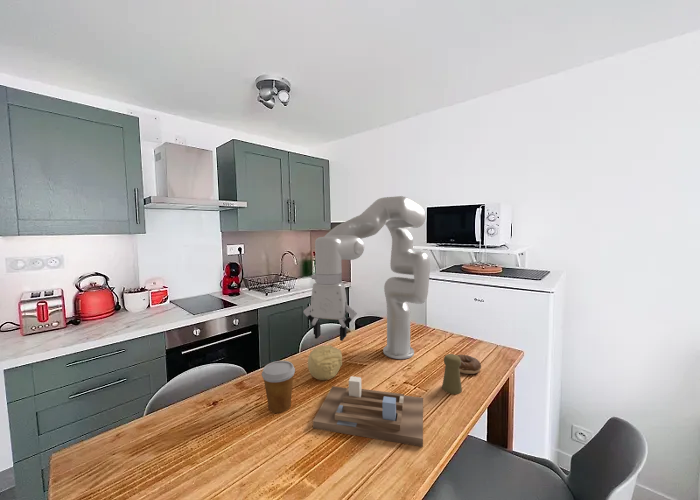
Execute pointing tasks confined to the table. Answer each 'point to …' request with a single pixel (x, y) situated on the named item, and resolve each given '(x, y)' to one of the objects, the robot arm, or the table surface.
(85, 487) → the table surface
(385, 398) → the slate-blue tab
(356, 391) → the cream tab
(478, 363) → the donut
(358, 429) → the switch board
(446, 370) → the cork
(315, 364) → the sculpture
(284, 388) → the disposable coffee cup
